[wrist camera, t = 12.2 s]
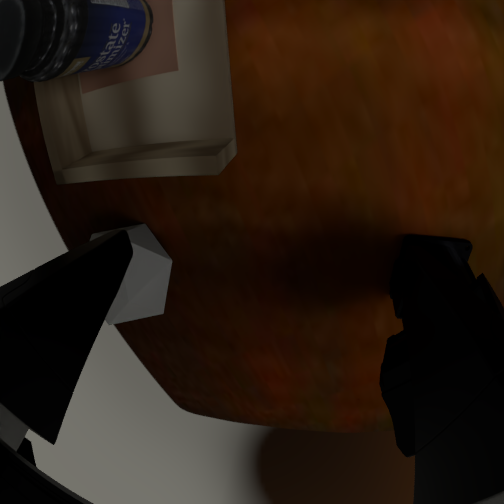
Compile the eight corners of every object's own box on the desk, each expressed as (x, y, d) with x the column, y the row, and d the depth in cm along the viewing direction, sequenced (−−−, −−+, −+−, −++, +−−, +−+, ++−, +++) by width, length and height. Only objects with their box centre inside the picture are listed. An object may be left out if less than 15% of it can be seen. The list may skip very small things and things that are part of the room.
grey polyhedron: (99, 212, 27) (65, 303, 25) (114, 193, 21) (67, 316, 18) (167, 244, 32) (138, 329, 29) (203, 237, 25) (166, 349, 22)
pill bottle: (122, 81, 18) (3, 120, 9) (79, 41, 16) (-36, 64, 8) (173, 18, 15) (52, 7, 6) (122, -20, 13) (4, -33, 4)
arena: (220, -54, 12) (196, -75, 8) (237, 153, 21) (218, 174, 17) (64, 2, 14) (27, 3, 11) (88, 164, 24) (56, 184, 20)
